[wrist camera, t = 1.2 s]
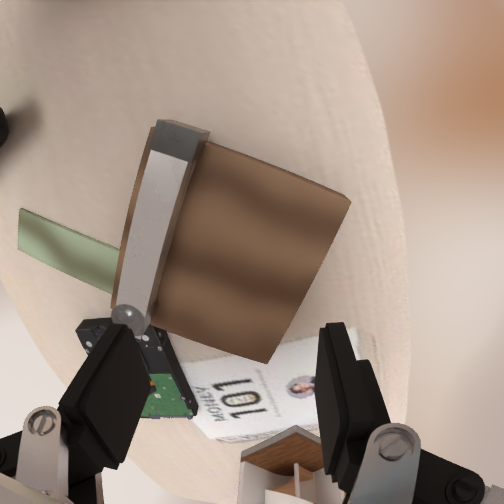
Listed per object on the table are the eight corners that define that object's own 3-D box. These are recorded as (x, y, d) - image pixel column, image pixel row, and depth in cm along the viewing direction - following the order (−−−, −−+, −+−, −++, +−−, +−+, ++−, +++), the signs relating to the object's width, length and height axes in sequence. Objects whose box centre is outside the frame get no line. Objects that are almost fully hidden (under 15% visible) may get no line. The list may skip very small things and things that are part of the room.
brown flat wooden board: (40, 96, 22) (24, 96, 20) (343, 194, 25) (351, 201, 23) (19, 248, 29) (6, 256, 26) (267, 348, 31) (267, 364, 29)
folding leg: (153, 321, 27) (143, 341, 24) (122, 309, 27) (109, 327, 24) (211, 132, 21) (202, 133, 18) (170, 119, 21) (156, 118, 18)
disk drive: (83, 316, 32) (132, 404, 37) (72, 330, 30) (126, 418, 35) (160, 308, 31) (201, 404, 36) (151, 324, 28) (197, 421, 34)
